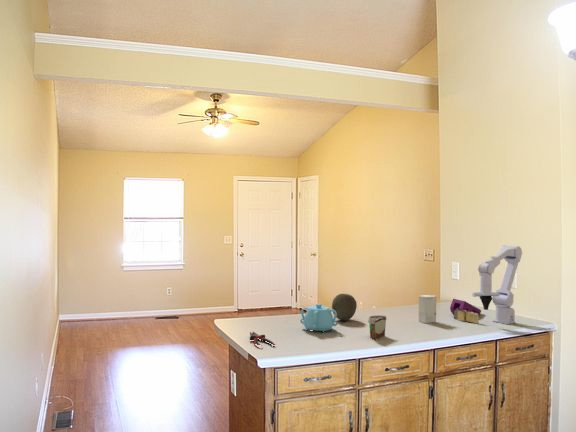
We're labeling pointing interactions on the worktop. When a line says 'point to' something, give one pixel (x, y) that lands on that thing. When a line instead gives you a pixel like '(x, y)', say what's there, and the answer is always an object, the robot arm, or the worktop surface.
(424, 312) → the skincare box
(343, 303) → the dark brown ball
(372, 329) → the food container
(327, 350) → the worktop surface
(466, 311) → the fixed leaf
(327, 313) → the decorative pot
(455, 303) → the mounting bracket
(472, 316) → the loose leaf
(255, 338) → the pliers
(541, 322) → the worktop surface
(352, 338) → the worktop surface
